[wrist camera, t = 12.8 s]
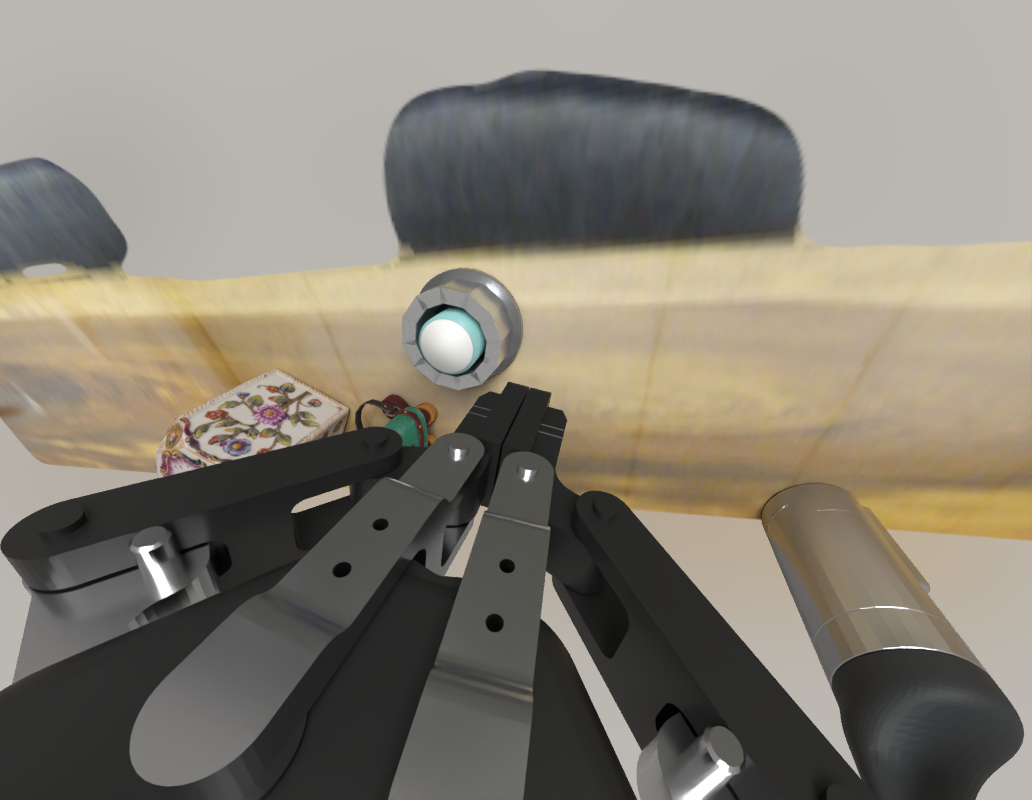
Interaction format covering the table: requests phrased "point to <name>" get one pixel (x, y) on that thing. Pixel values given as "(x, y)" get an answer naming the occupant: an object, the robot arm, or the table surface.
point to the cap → (452, 340)
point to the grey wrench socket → (481, 302)
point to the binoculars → (405, 420)
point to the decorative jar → (249, 423)
